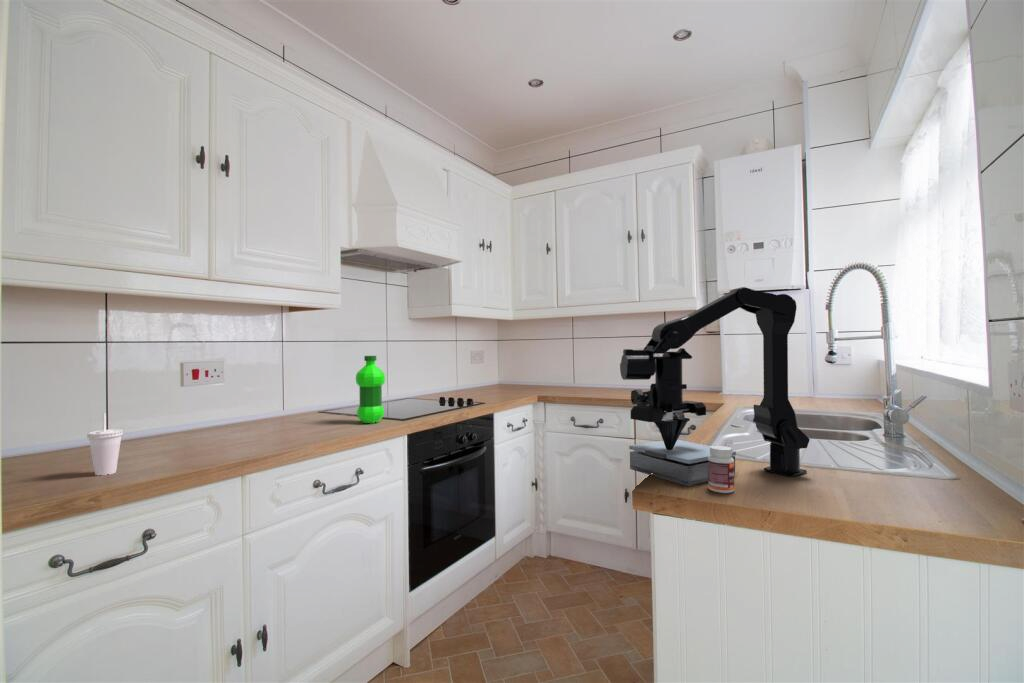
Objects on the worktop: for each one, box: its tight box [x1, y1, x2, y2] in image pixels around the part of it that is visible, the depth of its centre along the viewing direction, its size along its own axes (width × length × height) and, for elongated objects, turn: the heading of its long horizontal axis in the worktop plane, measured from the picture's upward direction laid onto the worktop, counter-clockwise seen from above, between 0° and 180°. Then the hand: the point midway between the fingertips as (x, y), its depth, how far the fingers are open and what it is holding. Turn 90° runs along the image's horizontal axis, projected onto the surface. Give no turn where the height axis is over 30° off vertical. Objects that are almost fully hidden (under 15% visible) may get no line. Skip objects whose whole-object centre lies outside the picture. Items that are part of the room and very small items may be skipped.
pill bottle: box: [707, 445, 735, 494], centre depth 95 cm, size 5×5×8 cm
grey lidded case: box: [629, 450, 736, 487], centre depth 108 cm, size 16×16×4 cm
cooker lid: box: [628, 439, 737, 464], centre depth 108 cm, size 17×16×1 cm
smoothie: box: [86, 412, 124, 477], centre depth 110 cm, size 6×6×14 cm
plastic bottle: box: [355, 355, 386, 424], centre depth 178 cm, size 10×10×25 cm
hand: (669, 449), depth 106 cm, fingers closed
